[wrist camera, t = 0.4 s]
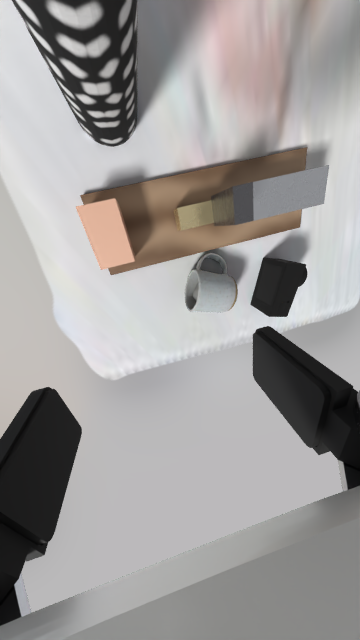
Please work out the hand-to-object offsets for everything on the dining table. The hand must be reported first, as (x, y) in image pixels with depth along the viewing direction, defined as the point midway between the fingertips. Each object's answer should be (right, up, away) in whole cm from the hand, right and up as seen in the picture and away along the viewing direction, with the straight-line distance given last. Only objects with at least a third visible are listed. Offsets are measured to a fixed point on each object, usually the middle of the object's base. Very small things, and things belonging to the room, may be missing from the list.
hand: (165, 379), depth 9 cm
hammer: (+11, +22, +22) cm, 33 cm away
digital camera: (+20, +11, +32) cm, 40 cm away
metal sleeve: (+15, +24, +24) cm, 37 cm away
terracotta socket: (-10, +17, +21) cm, 29 cm away
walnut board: (+5, +21, +24) cm, 32 cm away
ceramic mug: (+6, +11, +29) cm, 32 cm away
